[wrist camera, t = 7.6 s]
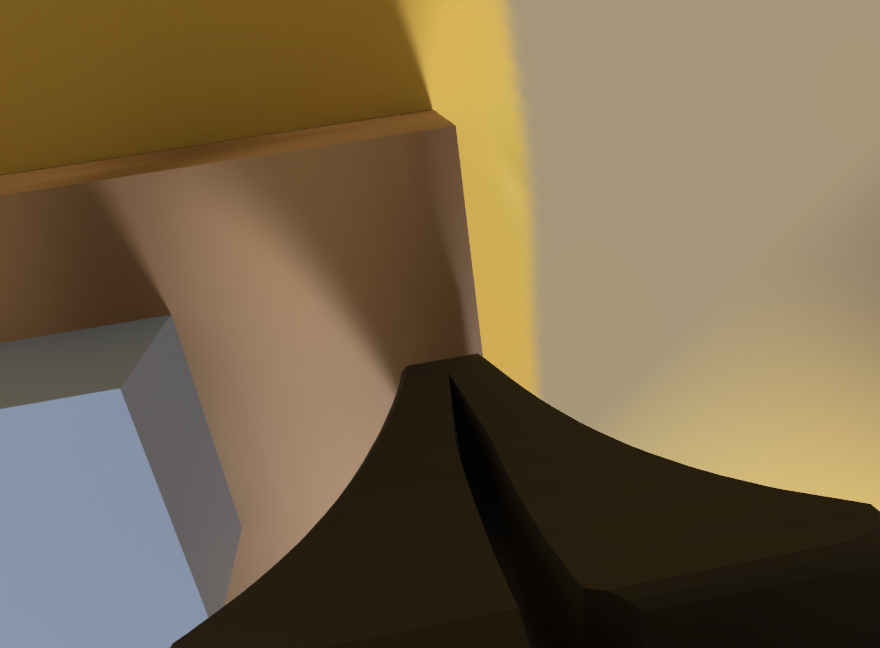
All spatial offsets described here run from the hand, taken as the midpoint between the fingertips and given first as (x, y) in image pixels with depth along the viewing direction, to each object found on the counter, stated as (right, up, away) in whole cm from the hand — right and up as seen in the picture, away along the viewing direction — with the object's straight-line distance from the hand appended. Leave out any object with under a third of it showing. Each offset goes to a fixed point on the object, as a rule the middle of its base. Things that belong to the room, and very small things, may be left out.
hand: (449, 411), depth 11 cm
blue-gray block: (-7, -1, 0) cm, 7 cm away
